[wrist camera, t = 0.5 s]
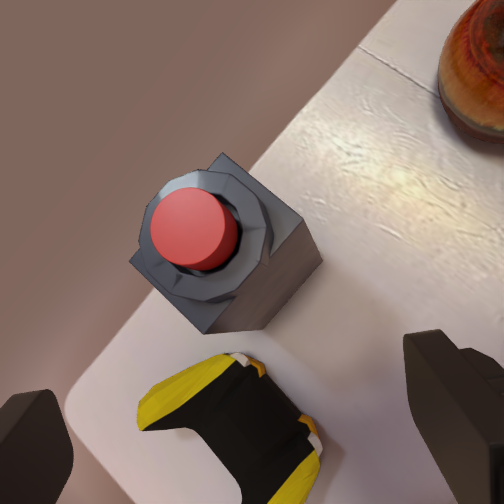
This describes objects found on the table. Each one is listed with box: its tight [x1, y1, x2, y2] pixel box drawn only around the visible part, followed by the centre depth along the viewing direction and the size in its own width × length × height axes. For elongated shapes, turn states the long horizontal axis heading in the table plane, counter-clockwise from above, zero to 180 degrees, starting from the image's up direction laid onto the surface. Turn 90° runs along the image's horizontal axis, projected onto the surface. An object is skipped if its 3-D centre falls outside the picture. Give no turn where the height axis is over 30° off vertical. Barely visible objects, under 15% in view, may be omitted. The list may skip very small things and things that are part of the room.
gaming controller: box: [137, 352, 323, 504], centre depth 35 cm, size 15×6×10 cm
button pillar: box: [129, 152, 323, 335], centre depth 31 cm, size 8×6×18 cm
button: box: [150, 187, 238, 271], centre depth 21 cm, size 4×4×2 cm
